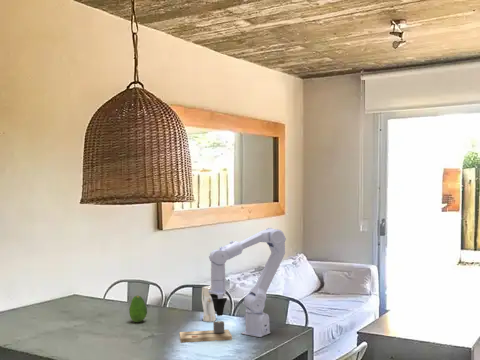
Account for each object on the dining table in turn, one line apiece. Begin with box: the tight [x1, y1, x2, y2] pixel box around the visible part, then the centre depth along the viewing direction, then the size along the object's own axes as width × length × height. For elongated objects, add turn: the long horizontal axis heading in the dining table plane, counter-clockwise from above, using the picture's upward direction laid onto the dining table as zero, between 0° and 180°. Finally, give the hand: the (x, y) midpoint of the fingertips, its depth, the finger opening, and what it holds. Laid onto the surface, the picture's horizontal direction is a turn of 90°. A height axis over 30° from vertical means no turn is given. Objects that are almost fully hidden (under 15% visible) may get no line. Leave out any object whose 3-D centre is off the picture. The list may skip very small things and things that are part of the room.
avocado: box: [128, 294, 148, 323], centre depth 246 cm, size 8×8×12 cm
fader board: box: [178, 329, 233, 344], centre depth 219 cm, size 20×10×2 cm, turn 100°
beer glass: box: [201, 285, 217, 323], centre depth 248 cm, size 7×7×15 cm
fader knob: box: [212, 320, 225, 333], centre depth 220 cm, size 4×2×4 cm, turn 100°
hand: (218, 313), depth 220 cm, fingers open, 7 cm apart
